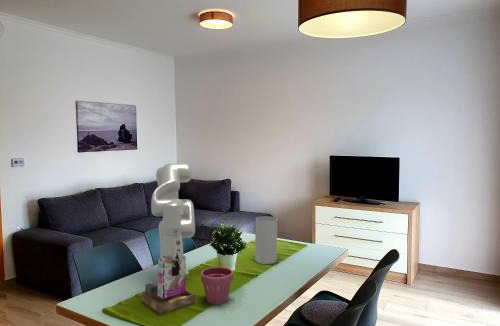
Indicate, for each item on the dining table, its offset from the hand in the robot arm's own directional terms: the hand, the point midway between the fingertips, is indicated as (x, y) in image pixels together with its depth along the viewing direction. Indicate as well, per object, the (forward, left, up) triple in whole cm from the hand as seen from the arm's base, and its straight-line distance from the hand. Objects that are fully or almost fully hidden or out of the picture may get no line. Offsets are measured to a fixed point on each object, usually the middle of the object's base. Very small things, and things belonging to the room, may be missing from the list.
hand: (171, 273), depth 167 cm
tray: (0, -3, -14) cm, 14 cm away
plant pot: (-18, +8, -14) cm, 24 cm away
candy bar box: (0, 0, -10) cm, 10 cm away
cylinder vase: (-72, -16, -14) cm, 75 cm away
